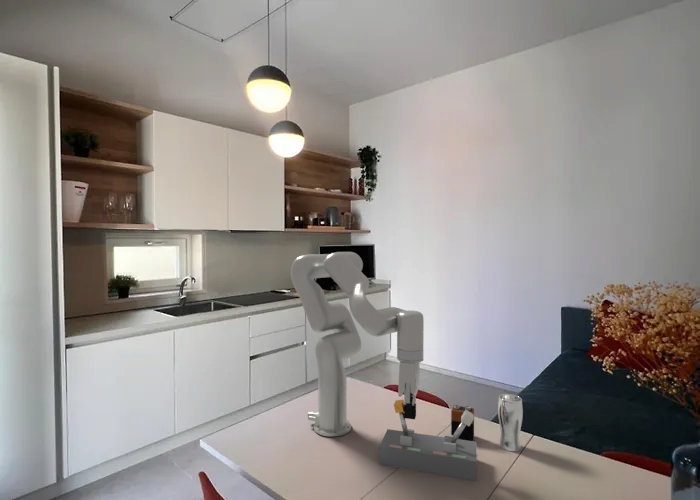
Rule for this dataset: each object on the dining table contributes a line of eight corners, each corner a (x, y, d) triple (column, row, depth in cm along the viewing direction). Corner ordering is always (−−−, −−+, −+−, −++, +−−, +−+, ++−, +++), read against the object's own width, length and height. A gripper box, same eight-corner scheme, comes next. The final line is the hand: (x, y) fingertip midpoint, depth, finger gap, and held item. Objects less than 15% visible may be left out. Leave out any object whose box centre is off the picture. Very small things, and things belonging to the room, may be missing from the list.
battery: (473, 442, 122) (473, 410, 122) (450, 438, 124) (451, 407, 124) (474, 435, 126) (474, 405, 126) (452, 432, 128) (452, 402, 128)
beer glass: (521, 443, 121) (521, 395, 121) (523, 454, 115) (523, 403, 115) (497, 439, 124) (497, 392, 123) (498, 450, 117) (498, 400, 117)
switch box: (379, 464, 109) (379, 438, 109) (387, 445, 120) (387, 421, 120) (476, 480, 102) (476, 453, 102) (476, 459, 112) (476, 434, 112)
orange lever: (402, 441, 111) (393, 404, 112) (404, 436, 114) (395, 400, 115) (410, 441, 111) (401, 403, 111) (412, 435, 114) (403, 399, 114)
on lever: (445, 445, 108) (465, 414, 106) (446, 439, 111) (465, 409, 109) (453, 450, 107) (473, 419, 105) (454, 445, 110) (473, 414, 108)
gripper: (401, 346, 120) (401, 406, 121) (392, 360, 106) (392, 427, 106) (426, 348, 118) (425, 409, 118) (420, 362, 104) (420, 431, 104)
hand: (410, 417), depth 112 cm, fingers closed
